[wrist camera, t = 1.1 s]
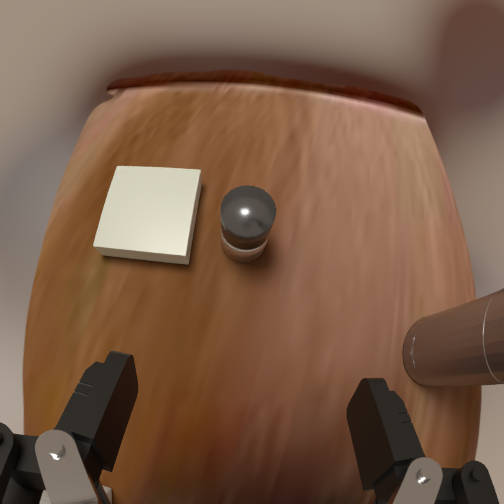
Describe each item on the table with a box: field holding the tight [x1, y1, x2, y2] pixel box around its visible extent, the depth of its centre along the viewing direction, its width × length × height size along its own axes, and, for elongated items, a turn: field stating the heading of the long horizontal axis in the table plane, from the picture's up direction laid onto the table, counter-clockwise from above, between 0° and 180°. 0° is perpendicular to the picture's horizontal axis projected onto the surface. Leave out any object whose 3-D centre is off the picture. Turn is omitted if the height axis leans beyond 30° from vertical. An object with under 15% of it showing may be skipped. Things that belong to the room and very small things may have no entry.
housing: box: [221, 186, 276, 263], centre depth 32 cm, size 5×5×8 cm
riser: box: [93, 166, 202, 265], centre depth 35 cm, size 11×11×3 cm
